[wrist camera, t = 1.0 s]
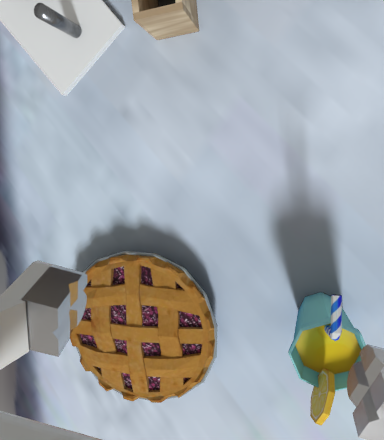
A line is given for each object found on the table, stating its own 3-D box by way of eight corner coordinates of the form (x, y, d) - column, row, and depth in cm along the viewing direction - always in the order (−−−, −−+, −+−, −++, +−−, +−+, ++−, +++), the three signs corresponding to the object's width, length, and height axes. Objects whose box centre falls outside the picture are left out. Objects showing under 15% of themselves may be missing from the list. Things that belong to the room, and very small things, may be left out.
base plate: (125, 27, 45) (122, 24, 44) (66, 96, 49) (62, 94, 48) (45, -68, 46) (40, -73, 45) (-8, 7, 50) (-13, 4, 49)
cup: (289, 250, 45) (289, 295, 31) (356, 252, 43) (390, 301, 29) (287, 353, 47) (287, 439, 33) (351, 359, 46) (380, 454, 31)
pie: (232, 388, 51) (226, 412, 46) (95, 386, 57) (77, 407, 52) (209, 237, 48) (200, 246, 43) (67, 252, 54) (45, 261, 49)
